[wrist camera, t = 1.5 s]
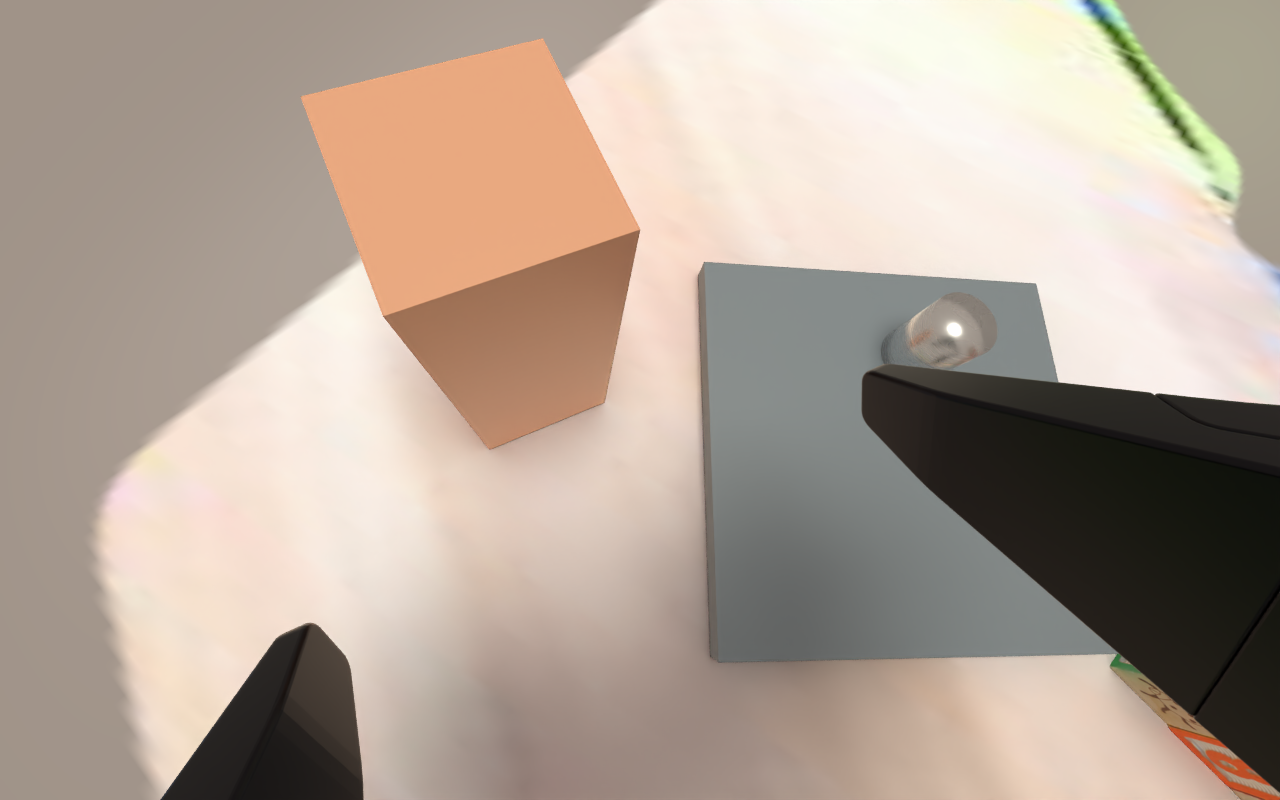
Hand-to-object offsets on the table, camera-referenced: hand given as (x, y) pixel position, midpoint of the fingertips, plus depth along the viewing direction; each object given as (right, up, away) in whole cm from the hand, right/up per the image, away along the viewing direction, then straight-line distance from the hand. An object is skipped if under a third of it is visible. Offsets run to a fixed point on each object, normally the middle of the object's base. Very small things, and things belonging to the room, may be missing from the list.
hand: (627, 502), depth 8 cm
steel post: (+12, +3, +16) cm, 20 cm away
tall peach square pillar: (-5, +3, +14) cm, 15 cm away
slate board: (+11, -1, +15) cm, 19 cm away
